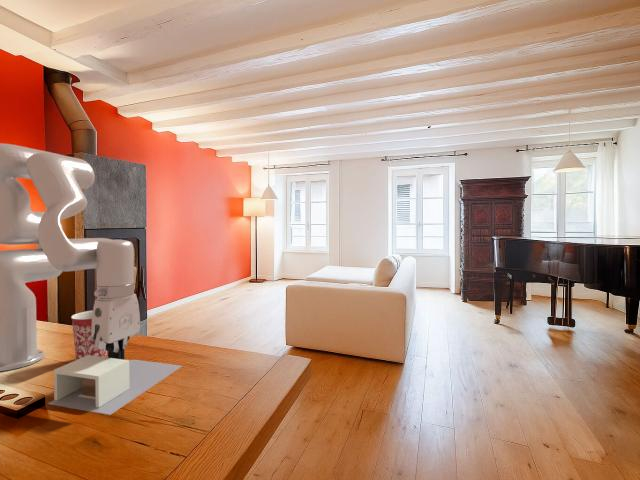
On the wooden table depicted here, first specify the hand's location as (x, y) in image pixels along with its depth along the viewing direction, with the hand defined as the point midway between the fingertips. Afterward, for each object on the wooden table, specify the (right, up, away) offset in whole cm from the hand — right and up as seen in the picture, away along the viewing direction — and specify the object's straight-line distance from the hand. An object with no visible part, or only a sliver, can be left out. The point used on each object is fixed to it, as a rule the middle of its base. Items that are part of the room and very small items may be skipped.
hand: (116, 365), depth 77 cm
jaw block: (-1, -4, -5) cm, 6 cm away
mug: (-15, -4, +16) cm, 22 cm away
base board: (+2, -5, 0) cm, 5 cm away
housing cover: (-1, -4, -6) cm, 7 cm away
